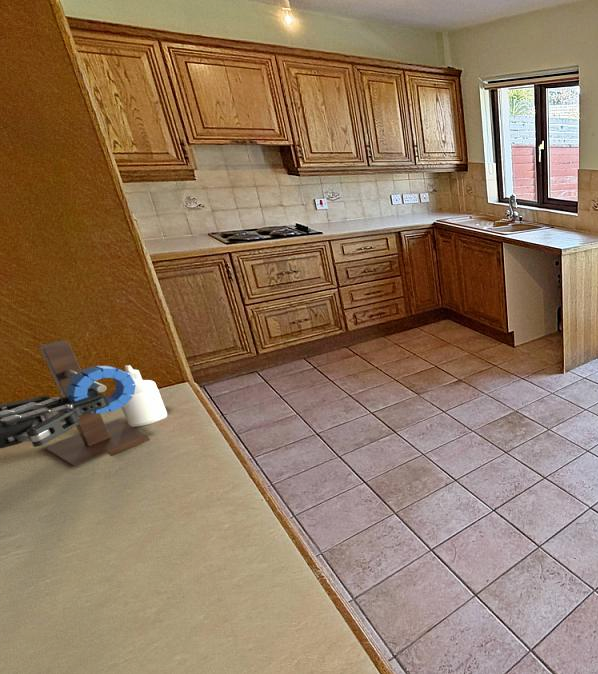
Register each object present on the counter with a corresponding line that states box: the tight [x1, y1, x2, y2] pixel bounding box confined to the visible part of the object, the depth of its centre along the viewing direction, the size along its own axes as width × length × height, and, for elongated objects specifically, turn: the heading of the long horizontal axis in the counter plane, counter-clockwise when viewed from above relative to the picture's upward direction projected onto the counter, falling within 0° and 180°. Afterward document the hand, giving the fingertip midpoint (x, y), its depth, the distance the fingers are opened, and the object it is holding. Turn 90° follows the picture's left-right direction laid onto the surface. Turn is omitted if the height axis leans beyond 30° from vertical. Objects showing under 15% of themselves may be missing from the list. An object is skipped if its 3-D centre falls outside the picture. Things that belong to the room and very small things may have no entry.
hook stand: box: [38, 339, 150, 467], centre depth 79 cm, size 16×10×20 cm, turn 66°
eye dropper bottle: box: [121, 364, 168, 428], centre depth 90 cm, size 4×6×12 cm
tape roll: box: [66, 365, 136, 414], centre depth 75 cm, size 2×7×7 cm
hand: (101, 396), depth 75 cm, fingers closed on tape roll, 2 cm apart
